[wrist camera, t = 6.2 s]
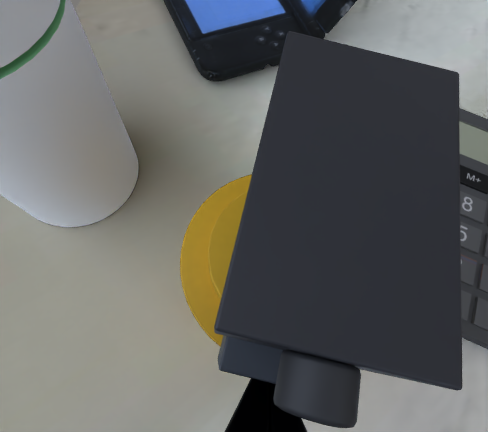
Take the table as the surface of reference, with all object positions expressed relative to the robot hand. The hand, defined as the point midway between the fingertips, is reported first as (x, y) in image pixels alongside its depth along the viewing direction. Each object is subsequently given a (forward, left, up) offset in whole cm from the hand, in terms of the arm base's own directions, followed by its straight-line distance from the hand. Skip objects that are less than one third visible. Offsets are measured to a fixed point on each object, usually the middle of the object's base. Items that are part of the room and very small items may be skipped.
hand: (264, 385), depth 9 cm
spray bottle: (+3, -2, -9) cm, 9 cm away
